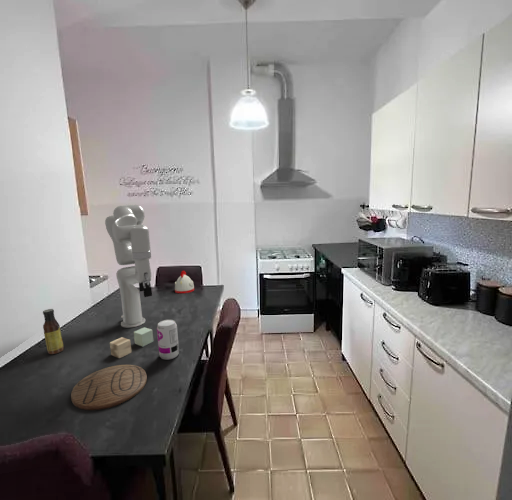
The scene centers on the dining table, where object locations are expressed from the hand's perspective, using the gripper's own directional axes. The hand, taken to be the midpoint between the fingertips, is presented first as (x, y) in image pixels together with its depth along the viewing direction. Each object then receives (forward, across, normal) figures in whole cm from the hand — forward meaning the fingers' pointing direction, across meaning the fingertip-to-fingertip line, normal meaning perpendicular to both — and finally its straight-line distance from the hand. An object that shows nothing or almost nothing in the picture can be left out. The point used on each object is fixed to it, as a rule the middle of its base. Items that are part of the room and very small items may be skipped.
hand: (145, 293), depth 136 cm
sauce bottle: (+26, -23, -38) cm, 51 cm away
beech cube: (+26, -3, -12) cm, 29 cm away
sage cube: (+26, -8, -2) cm, 28 cm away
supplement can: (+26, +11, +5) cm, 29 cm away
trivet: (+27, +22, -19) cm, 39 cm away
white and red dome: (+27, -78, +41) cm, 92 cm away
